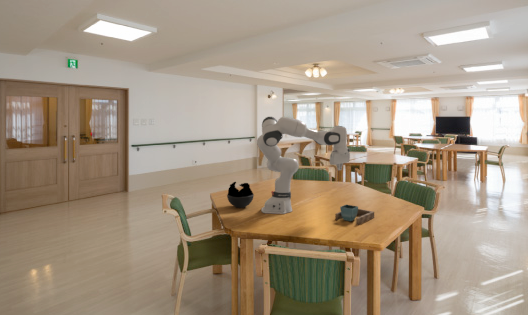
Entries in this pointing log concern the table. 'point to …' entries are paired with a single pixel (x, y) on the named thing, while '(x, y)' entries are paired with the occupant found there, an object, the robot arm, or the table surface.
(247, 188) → the bowl of black rocks
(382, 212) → the table surface
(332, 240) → the table surface
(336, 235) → the table surface
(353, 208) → the flower pot
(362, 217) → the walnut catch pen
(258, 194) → the table surface
